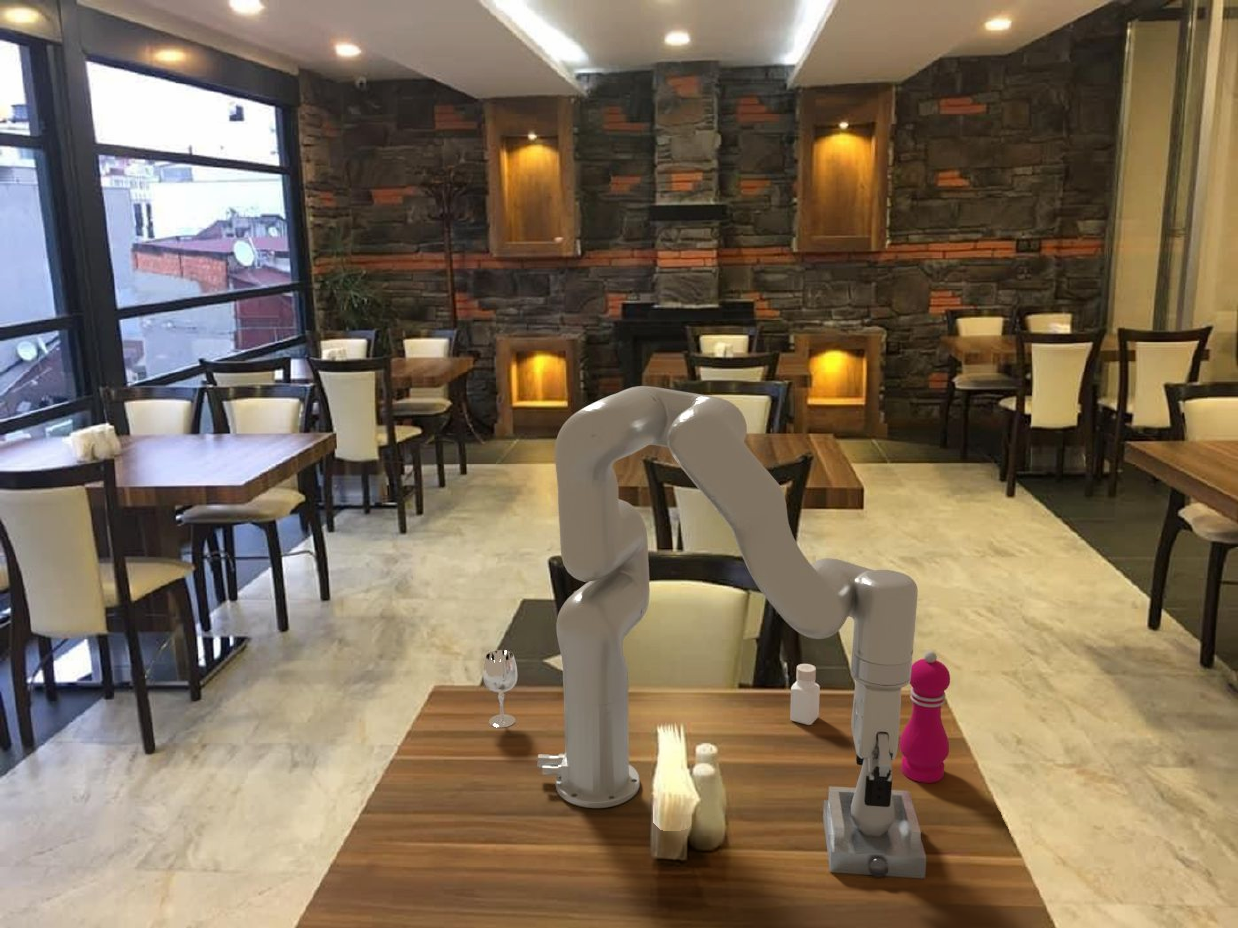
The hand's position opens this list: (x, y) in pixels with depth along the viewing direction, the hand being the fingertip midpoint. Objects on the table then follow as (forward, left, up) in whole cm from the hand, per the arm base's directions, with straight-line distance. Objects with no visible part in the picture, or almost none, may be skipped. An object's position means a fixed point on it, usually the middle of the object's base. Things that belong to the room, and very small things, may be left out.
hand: (872, 783), depth 133 cm
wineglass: (-58, +29, -10) cm, 65 cm away
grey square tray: (0, 0, -10) cm, 9 cm away
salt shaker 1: (-7, +35, -10) cm, 37 cm away
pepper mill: (+10, +20, -10) cm, 24 cm away
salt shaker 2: (0, 0, -7) cm, 7 cm away
